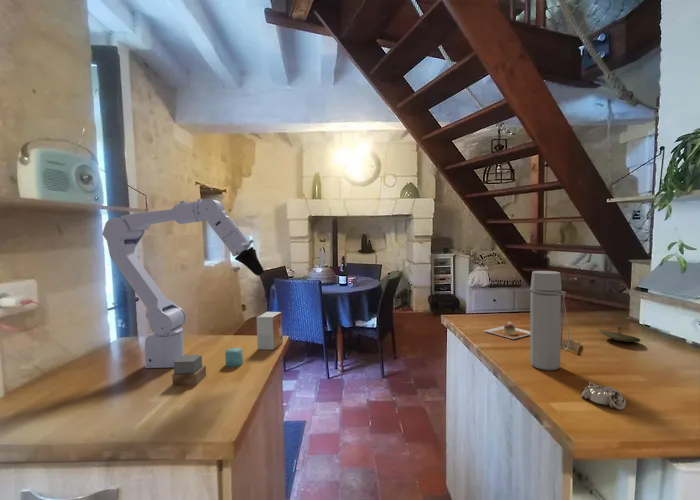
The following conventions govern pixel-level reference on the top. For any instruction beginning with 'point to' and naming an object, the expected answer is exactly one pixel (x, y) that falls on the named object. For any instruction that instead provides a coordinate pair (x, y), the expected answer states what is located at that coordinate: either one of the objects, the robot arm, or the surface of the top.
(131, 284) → the robot arm
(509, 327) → the dessert
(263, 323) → the small box
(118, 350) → the top surface
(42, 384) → the top surface
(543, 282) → the water bottle
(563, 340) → the shard
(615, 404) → the ornament
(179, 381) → the base block
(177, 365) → the top block
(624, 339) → the lid
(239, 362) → the teal rounded piece
